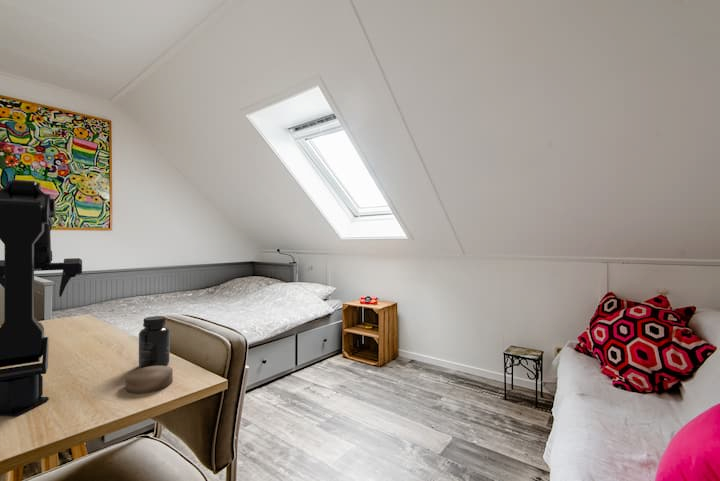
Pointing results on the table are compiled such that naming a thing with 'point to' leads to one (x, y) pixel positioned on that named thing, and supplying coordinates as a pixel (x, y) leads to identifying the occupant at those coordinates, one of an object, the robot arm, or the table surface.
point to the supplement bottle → (154, 342)
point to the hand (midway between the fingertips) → (37, 297)
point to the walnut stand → (148, 379)
